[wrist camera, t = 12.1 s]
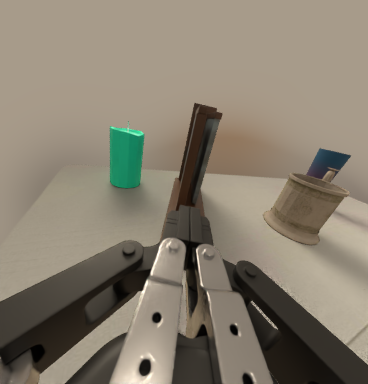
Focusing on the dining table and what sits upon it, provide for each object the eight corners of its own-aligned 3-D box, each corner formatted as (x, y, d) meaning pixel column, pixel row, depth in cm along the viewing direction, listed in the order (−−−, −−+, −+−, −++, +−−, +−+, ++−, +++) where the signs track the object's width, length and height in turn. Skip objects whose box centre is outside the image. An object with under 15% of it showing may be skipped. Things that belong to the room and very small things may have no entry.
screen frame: (156, 255, 17) (191, 68, 10) (174, 183, 37) (190, 102, 30) (207, 264, 18) (278, 90, 10) (198, 188, 38) (219, 109, 30)
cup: (322, 205, 46) (356, 156, 40) (308, 204, 44) (342, 153, 37) (301, 194, 52) (328, 150, 45) (287, 193, 49) (314, 147, 43)
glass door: (175, 211, 23) (198, 104, 17) (179, 183, 33) (195, 110, 27) (182, 213, 23) (209, 107, 17) (185, 184, 33) (202, 111, 27)
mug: (309, 252, 24) (363, 183, 19) (254, 216, 31) (283, 158, 25) (329, 229, 32) (371, 178, 27) (283, 205, 39) (309, 160, 34)
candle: (110, 188, 29) (109, 119, 23) (109, 175, 33) (109, 116, 28) (142, 188, 31) (148, 126, 26) (138, 176, 36) (142, 122, 31)
